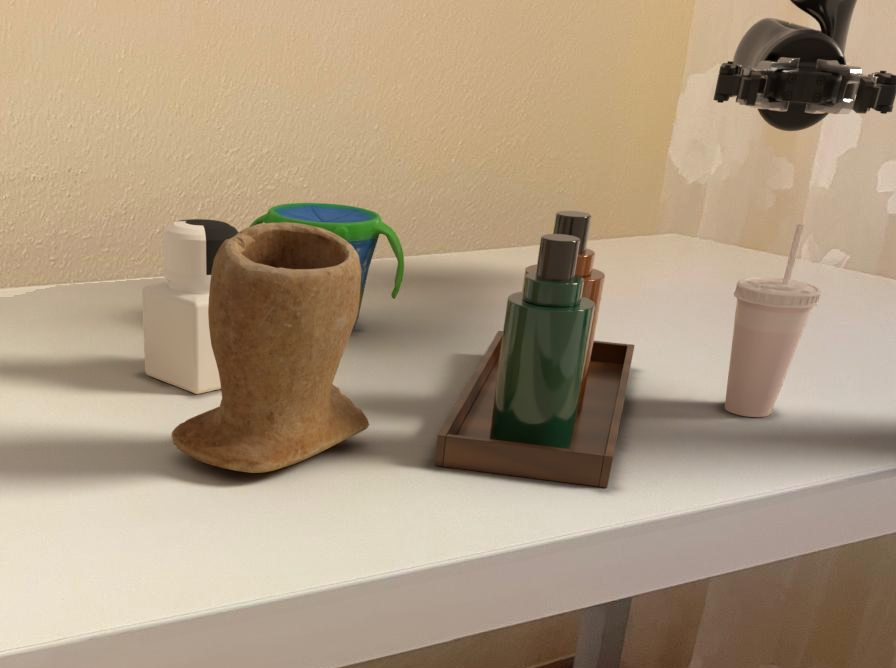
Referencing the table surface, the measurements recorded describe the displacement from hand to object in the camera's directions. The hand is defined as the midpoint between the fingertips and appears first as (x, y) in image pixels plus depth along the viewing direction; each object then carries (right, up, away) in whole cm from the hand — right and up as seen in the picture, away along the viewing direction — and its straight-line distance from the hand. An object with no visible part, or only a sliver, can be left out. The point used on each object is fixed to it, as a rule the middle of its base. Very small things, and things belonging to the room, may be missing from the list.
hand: (809, 94), depth 95 cm
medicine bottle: (-49, -21, +6) cm, 53 cm away
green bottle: (-24, -30, -7) cm, 39 cm away
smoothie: (-3, -24, +4) cm, 25 cm away
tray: (-21, -25, +1) cm, 33 cm away
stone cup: (-42, -31, -9) cm, 53 cm away
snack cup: (-39, -10, +21) cm, 45 cm away
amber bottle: (-21, -24, +1) cm, 32 cm away
